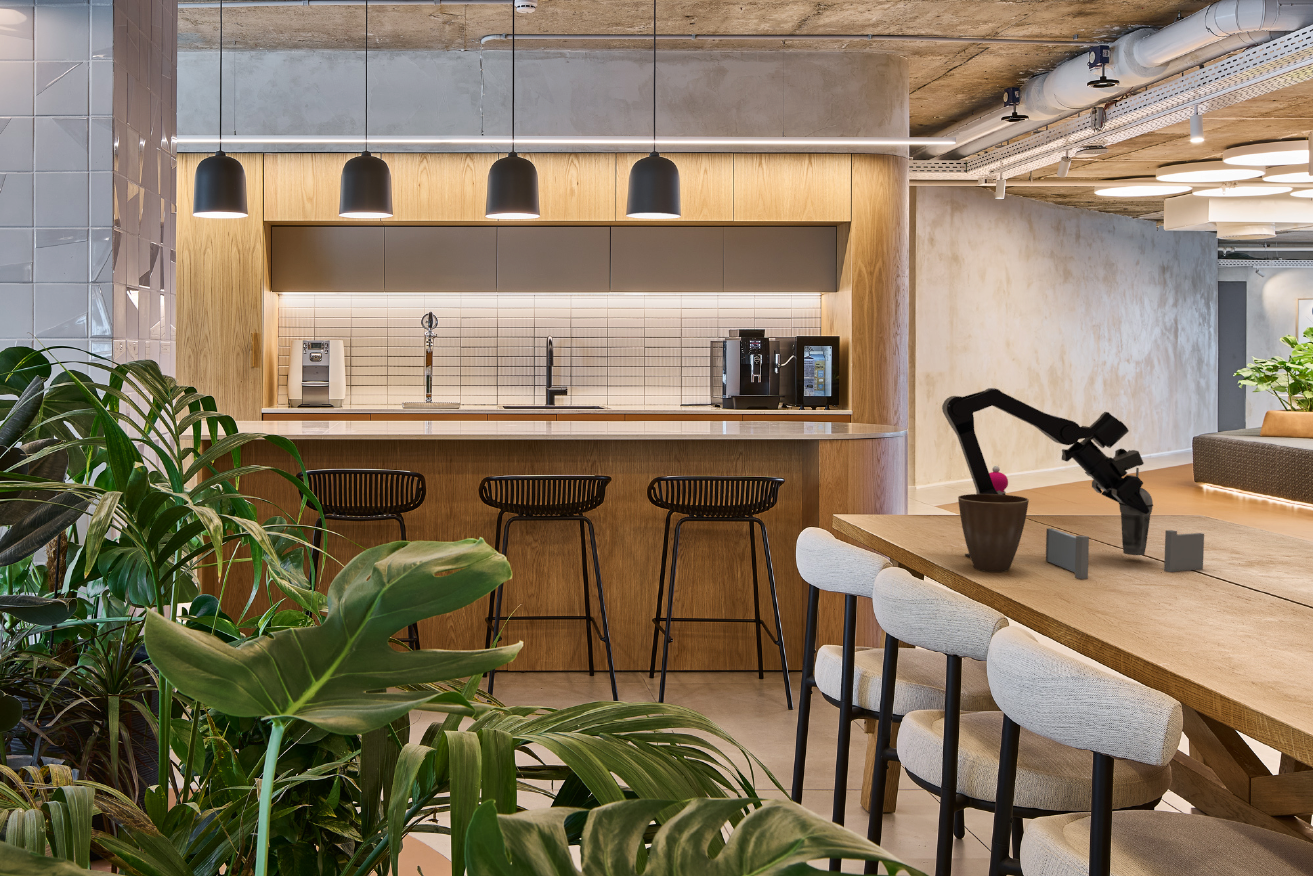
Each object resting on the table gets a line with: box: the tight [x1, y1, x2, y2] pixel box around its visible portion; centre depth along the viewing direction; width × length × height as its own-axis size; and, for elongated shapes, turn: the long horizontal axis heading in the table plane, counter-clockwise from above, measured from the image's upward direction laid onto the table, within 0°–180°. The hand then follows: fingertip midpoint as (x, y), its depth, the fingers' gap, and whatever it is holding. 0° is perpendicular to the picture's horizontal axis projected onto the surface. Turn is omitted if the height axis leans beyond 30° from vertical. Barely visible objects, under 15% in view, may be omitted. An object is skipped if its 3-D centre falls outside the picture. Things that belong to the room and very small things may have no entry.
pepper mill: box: [989, 465, 1009, 494], centre depth 259 cm, size 7×7×20 cm
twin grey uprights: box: [1074, 529, 1205, 580], centre depth 221 cm, size 34×2×9 cm, turn 109°
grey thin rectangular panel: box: [1045, 527, 1077, 573], centre depth 226 cm, size 17×1×8 cm, turn 4°
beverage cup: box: [1118, 467, 1154, 556], centre depth 235 cm, size 7×7×20 cm
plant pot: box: [957, 493, 1030, 573], centre depth 226 cm, size 15×15×16 cm
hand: (1141, 510), depth 235 cm, fingers closed on beverage cup, 7 cm apart
